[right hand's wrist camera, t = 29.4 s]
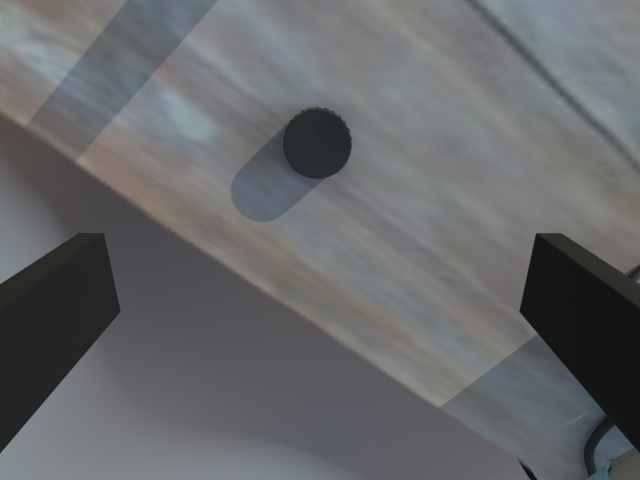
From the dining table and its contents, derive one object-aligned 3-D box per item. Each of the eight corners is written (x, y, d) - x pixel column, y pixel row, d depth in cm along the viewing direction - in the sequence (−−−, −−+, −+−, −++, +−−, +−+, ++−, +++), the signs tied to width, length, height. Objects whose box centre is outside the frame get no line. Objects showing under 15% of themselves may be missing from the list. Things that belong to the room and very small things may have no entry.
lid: (283, 106, 36) (281, 108, 34) (352, 107, 36) (353, 109, 34) (285, 173, 38) (283, 179, 36) (349, 174, 38) (350, 179, 36)
